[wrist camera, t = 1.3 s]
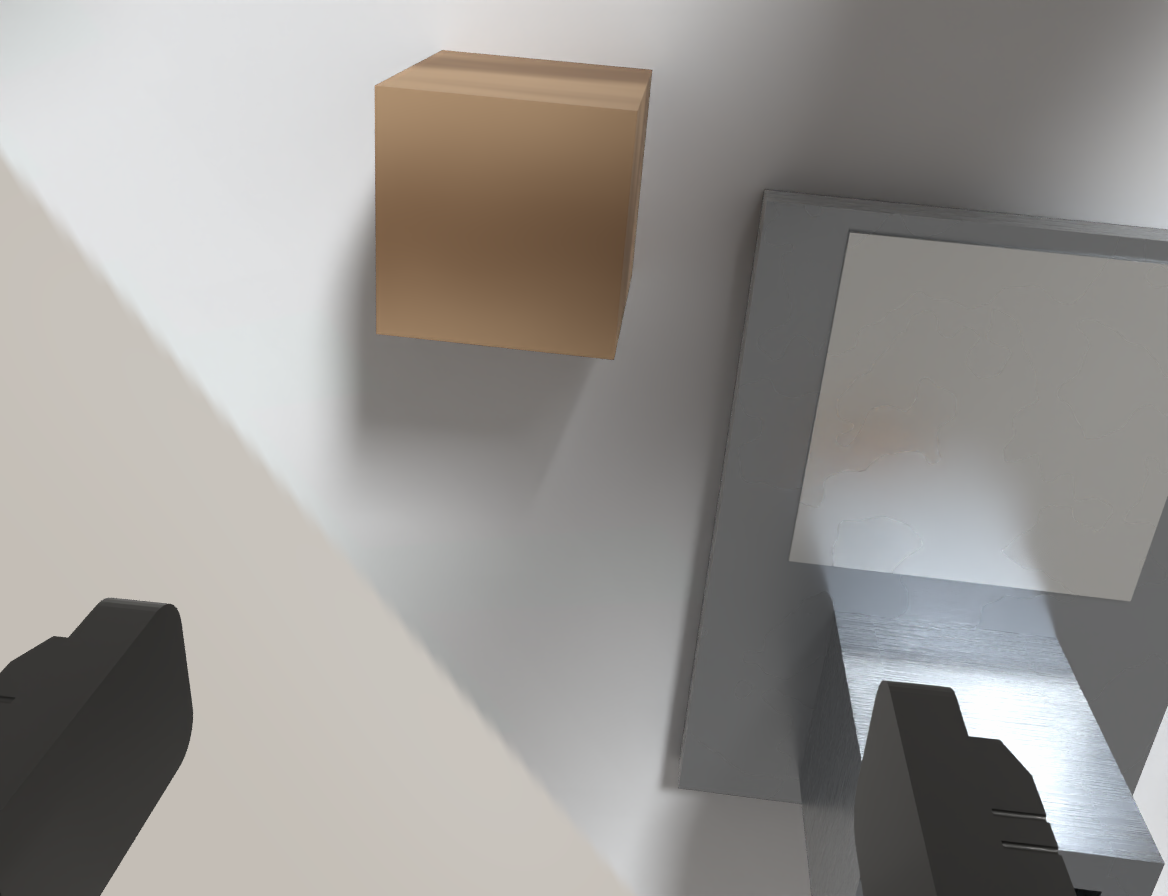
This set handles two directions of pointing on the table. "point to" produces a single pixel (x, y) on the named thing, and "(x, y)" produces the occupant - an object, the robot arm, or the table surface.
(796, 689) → the grey assembly fixture
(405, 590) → the table surface
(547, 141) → the block
